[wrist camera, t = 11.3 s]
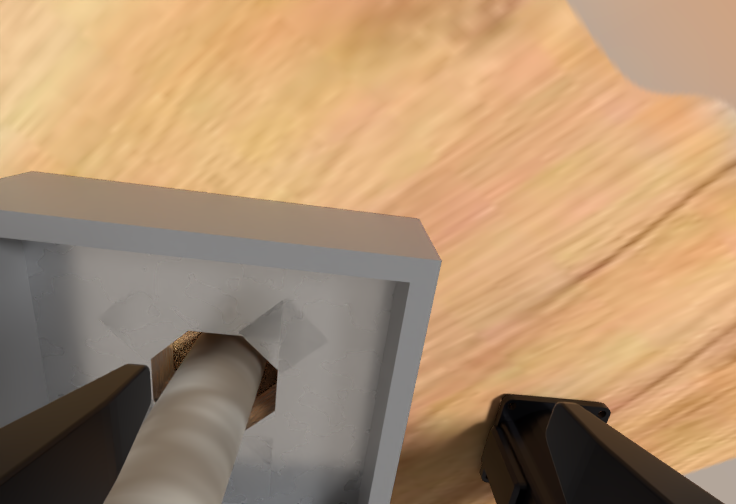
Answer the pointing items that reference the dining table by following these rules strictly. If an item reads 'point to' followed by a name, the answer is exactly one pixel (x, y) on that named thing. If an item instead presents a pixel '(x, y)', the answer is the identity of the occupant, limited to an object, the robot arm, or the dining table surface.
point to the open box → (224, 244)
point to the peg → (194, 427)
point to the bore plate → (232, 317)
